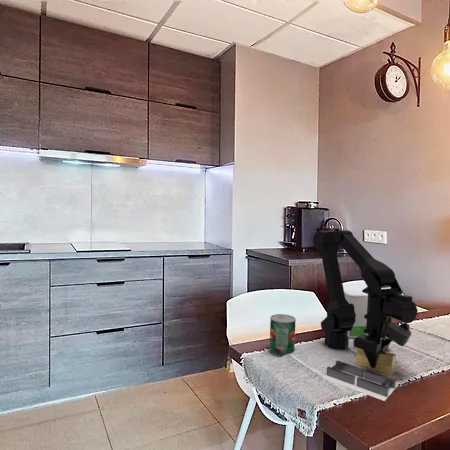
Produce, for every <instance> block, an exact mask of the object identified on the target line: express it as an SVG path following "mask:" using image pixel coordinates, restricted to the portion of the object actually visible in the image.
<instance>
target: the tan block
mask: <svg viewBox="0 0 450 450" xmlns="http://www.w3.org/2000/svg"><path fill="white" fill-rule="evenodd" d="M396 364H397V354H396V353H393V352H390V351H386V350H384V351H383V350H381V351H379V353H378V358H377V362H376V366H375V368H372V367H371V366H370V364H369V362H368V359H367V357H366V355H365V353H364V351H363V349H359V348H356V347H355V365H359V366H362V367H365V368H367V369H371V370H374V371H377V372H380V373H383V374H386V375H388V376H389V375H390V376H393V374H395V372H396Z"/></svg>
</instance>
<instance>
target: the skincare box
mask: <svg viewBox="0 0 450 450" xmlns="http://www.w3.org/2000/svg"><path fill="white" fill-rule="evenodd" d="M344 294H345V298H346V300H347V301H348V303H349V304H353V305H354V311H355V314H356V317H355V319H356V321H355V323H354V325H353V328H352V330H351V331H347V336H348V337H349V339H355V338H356V337H358V336H359V335H361V334H364V335H368V334H367V333H363V332H364V329H365V328H366V321H367V319H365V318H364V315H365V314H367V302H368V294H366V293H363V292H362V290H360V291H355V290H344Z"/></svg>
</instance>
